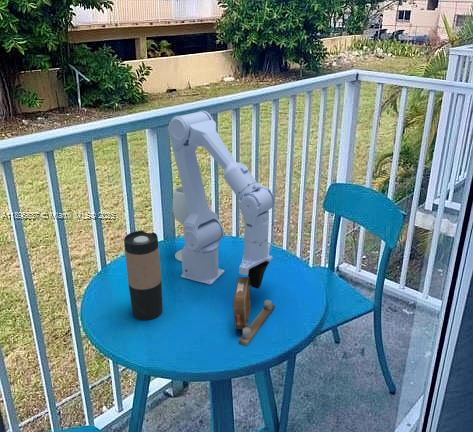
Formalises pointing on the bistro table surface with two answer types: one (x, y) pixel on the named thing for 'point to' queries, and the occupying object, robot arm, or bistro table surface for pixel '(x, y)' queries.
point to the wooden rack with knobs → (256, 323)
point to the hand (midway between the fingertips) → (255, 286)
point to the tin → (242, 302)
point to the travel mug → (144, 274)
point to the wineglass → (179, 212)
